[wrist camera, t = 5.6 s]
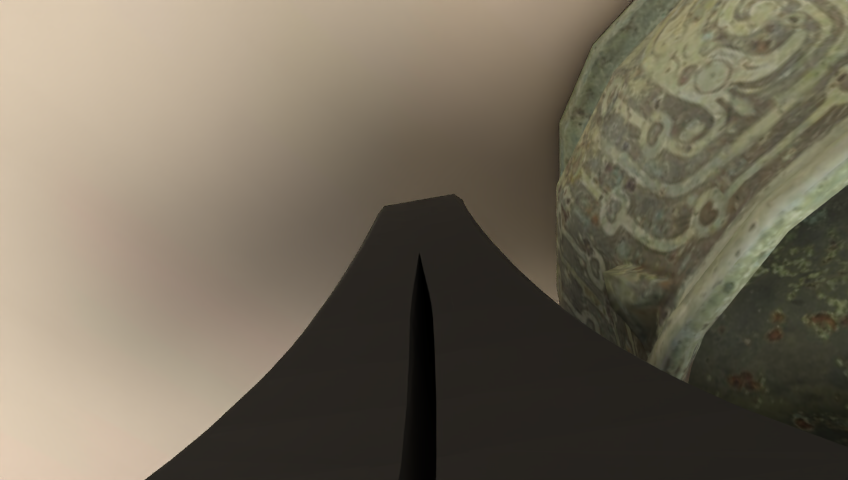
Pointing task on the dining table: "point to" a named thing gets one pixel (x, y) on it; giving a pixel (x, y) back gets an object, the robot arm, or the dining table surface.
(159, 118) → the dining table surface
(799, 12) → the vessel
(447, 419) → the robot arm
